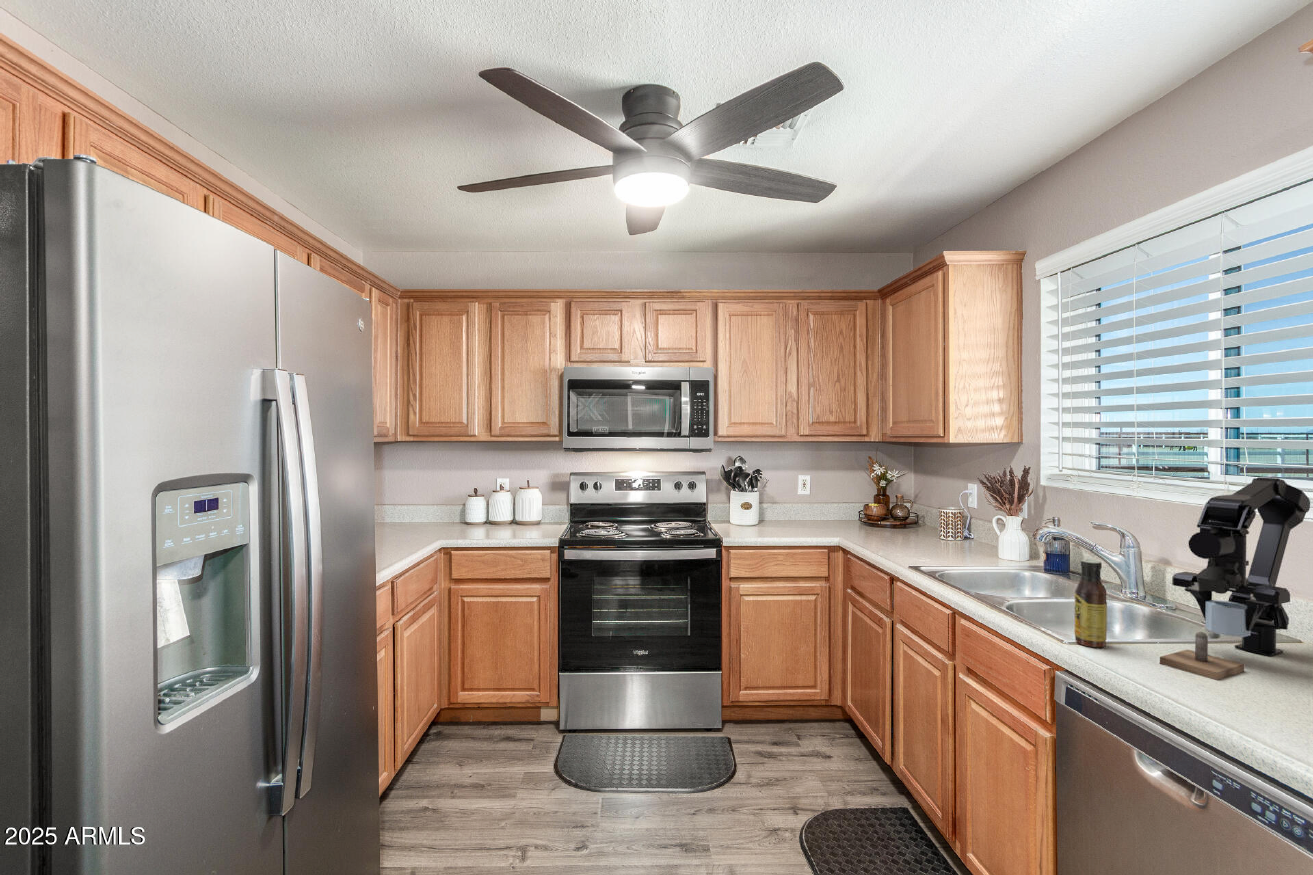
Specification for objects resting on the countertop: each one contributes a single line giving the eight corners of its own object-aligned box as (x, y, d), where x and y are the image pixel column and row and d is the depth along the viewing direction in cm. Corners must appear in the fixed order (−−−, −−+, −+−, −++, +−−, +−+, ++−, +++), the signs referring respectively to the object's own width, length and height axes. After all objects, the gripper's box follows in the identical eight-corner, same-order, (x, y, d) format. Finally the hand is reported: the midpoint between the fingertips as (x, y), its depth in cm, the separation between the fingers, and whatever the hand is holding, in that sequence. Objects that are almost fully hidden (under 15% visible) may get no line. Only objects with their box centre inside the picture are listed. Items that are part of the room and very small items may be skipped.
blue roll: (1216, 625, 144) (1216, 599, 144) (1255, 634, 137) (1255, 606, 137) (1200, 629, 141) (1200, 602, 141) (1239, 638, 134) (1239, 610, 134)
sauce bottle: (1076, 638, 153) (1076, 556, 153) (1107, 643, 149) (1108, 559, 149) (1072, 645, 148) (1073, 560, 148) (1105, 650, 144) (1106, 564, 144)
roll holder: (1187, 656, 141) (1187, 622, 141) (1243, 671, 132) (1244, 635, 132) (1159, 663, 137) (1160, 628, 136) (1216, 679, 128) (1217, 642, 127)
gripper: (1159, 550, 144) (1158, 619, 144) (1266, 566, 127) (1265, 643, 127) (1185, 547, 149) (1184, 613, 149) (1291, 561, 132) (1290, 636, 132)
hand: (1227, 626), depth 139 cm, fingers closed on blue roll, 7 cm apart
